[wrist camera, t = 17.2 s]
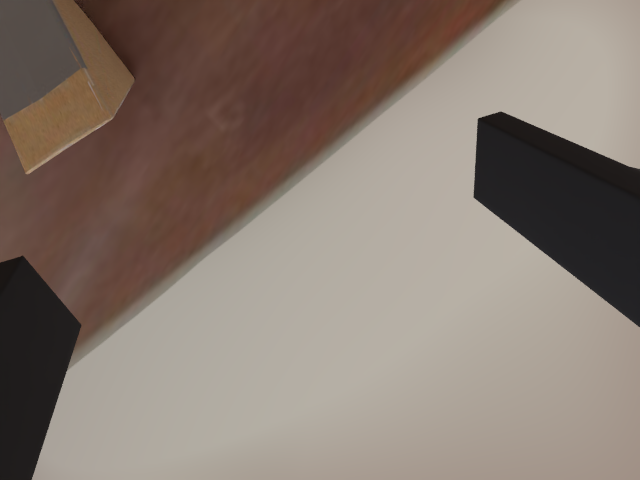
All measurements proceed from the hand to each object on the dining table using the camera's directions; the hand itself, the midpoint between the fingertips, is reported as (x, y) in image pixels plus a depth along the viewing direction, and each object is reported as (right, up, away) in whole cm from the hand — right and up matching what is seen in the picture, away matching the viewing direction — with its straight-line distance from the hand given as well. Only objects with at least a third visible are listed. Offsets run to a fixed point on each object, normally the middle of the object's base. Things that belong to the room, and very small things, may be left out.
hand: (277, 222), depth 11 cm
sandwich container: (-26, +20, +26) cm, 42 cm away
